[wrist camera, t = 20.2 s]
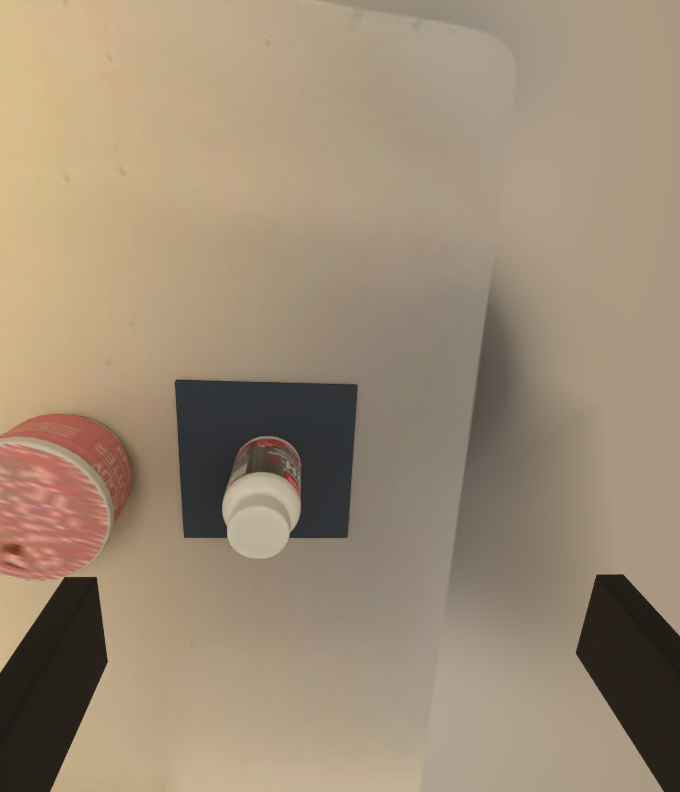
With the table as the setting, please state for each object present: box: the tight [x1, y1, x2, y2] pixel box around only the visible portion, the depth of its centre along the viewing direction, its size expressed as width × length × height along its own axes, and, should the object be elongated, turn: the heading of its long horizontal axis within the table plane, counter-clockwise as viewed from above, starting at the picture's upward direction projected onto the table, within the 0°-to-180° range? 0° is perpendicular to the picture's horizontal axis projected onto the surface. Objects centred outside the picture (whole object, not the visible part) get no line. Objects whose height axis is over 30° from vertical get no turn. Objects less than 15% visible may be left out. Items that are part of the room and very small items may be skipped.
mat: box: [175, 380, 357, 538], centre depth 41 cm, size 14×14×1 cm
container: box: [0, 414, 132, 581], centre depth 36 cm, size 10×10×8 cm
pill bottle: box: [222, 436, 301, 559], centre depth 36 cm, size 5×5×10 cm
